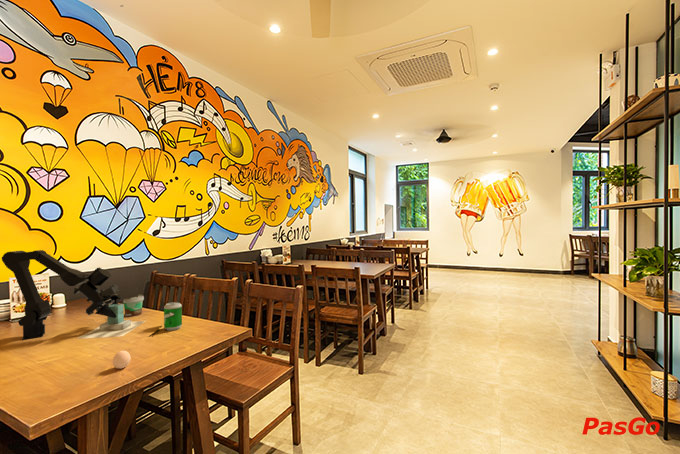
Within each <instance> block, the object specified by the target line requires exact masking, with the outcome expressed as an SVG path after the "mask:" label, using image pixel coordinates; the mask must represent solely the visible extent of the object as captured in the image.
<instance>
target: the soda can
mask: <svg viewBox="0 0 680 454" xmlns="http://www.w3.org/2000/svg"><path fill="white" fill-rule="evenodd" d="M182 309H183V305H182V304H181V303H180V302H178V301H175V302H173V301H172V302H168V303H167V302H166V304H165V305H164V307H163V328H164V329H165V330H166V331H169V332H171V331H172V332H173V331H177V330H179V329H181V327H182V326H183V310H182Z"/></svg>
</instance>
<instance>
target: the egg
mask: <svg viewBox="0 0 680 454" xmlns="http://www.w3.org/2000/svg"><path fill="white" fill-rule="evenodd" d="M130 362H131V354H130V353H129V352H128V351H126V350H120V351H118V352H116V354H115V355H114V356H113V358H112V365H113V367H114V368H116V369H117V370H118V369H120V370H121V369H124V368H126V367H127V366H128V365H129V364H130Z"/></svg>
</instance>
